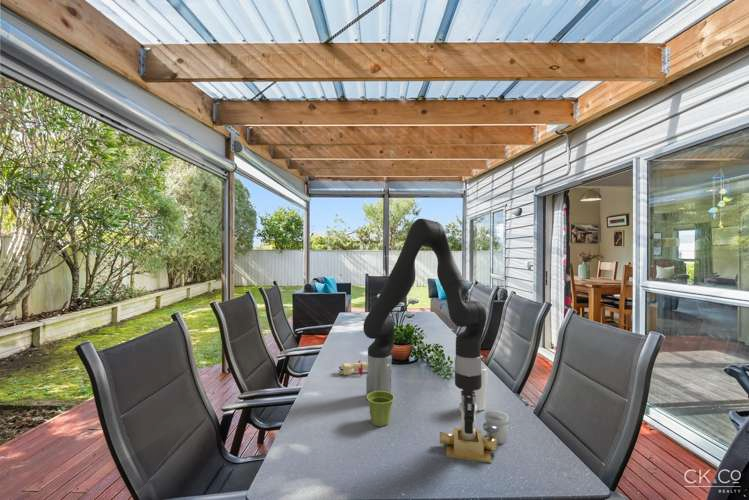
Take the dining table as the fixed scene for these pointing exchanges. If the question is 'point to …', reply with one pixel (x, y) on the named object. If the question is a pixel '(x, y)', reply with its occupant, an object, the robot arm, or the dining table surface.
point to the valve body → (471, 444)
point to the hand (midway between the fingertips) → (468, 428)
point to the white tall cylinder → (482, 391)
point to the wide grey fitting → (501, 421)
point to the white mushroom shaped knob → (463, 434)
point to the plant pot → (380, 407)
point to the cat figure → (353, 368)
